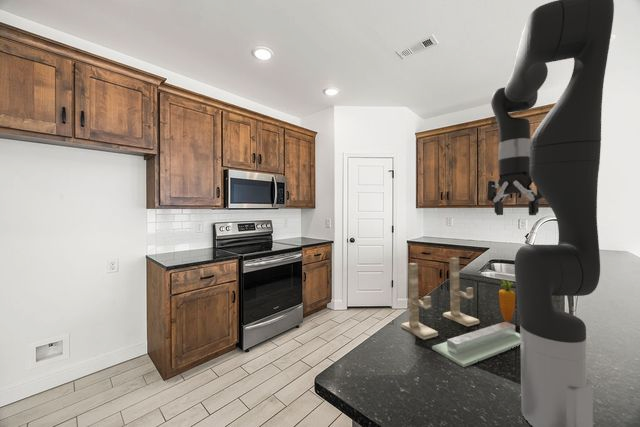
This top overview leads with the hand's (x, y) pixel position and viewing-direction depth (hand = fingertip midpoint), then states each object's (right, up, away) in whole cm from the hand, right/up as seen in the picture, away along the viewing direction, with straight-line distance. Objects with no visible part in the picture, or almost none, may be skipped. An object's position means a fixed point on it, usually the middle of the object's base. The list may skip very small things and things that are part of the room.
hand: (515, 215), depth 74 cm
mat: (-7, -38, +3) cm, 39 cm away
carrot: (+10, -38, +18) cm, 43 cm away
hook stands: (-13, -38, +16) cm, 43 cm away
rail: (-7, -37, +3) cm, 38 cm away
